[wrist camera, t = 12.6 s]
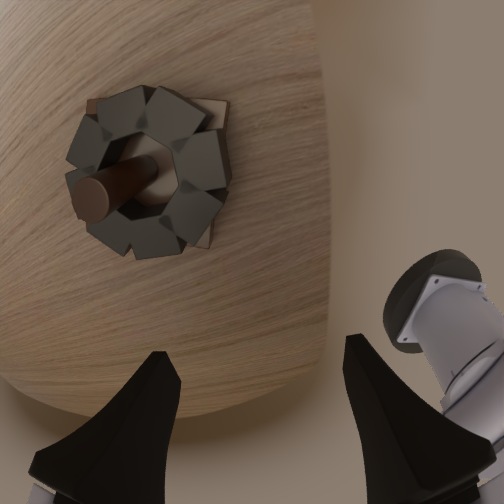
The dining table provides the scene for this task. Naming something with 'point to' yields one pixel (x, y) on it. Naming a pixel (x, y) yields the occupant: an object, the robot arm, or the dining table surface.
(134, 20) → the dining table surface
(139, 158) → the peg stand
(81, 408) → the dining table surface
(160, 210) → the ring
